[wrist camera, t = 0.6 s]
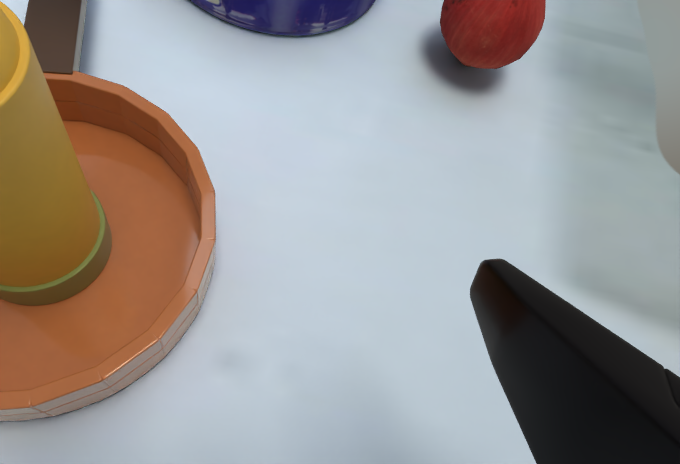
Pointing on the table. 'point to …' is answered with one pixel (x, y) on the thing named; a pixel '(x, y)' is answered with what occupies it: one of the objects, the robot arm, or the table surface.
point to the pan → (116, 257)
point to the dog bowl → (287, 14)
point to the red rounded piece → (491, 30)
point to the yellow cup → (41, 187)
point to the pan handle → (56, 33)
